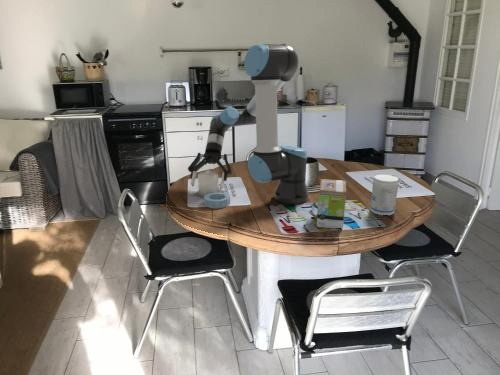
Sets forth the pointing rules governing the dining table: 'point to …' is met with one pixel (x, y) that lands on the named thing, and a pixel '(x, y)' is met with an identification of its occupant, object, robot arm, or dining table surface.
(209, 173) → the cover
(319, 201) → the tea box
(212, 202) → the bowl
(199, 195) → the mat
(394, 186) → the supplement tub
